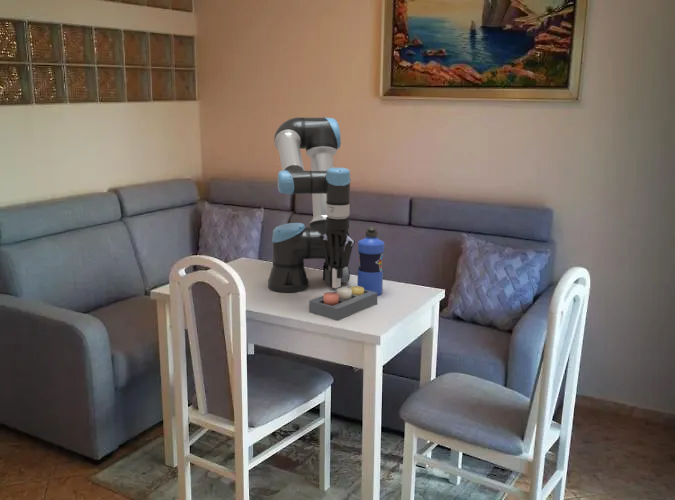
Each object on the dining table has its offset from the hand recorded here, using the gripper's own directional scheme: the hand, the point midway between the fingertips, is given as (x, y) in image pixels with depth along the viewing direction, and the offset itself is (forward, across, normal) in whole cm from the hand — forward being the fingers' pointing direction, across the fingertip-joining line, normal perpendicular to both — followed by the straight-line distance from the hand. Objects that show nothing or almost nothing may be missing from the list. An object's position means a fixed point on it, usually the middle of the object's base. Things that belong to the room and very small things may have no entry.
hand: (336, 286), depth 221 cm
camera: (+9, -18, +24) cm, 31 cm away
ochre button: (+6, 0, +12) cm, 13 cm away
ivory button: (+5, 0, +5) cm, 7 cm away
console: (+9, 0, +5) cm, 10 cm away
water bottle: (+9, -3, +24) cm, 25 cm away
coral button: (+5, 0, -2) cm, 6 cm away
